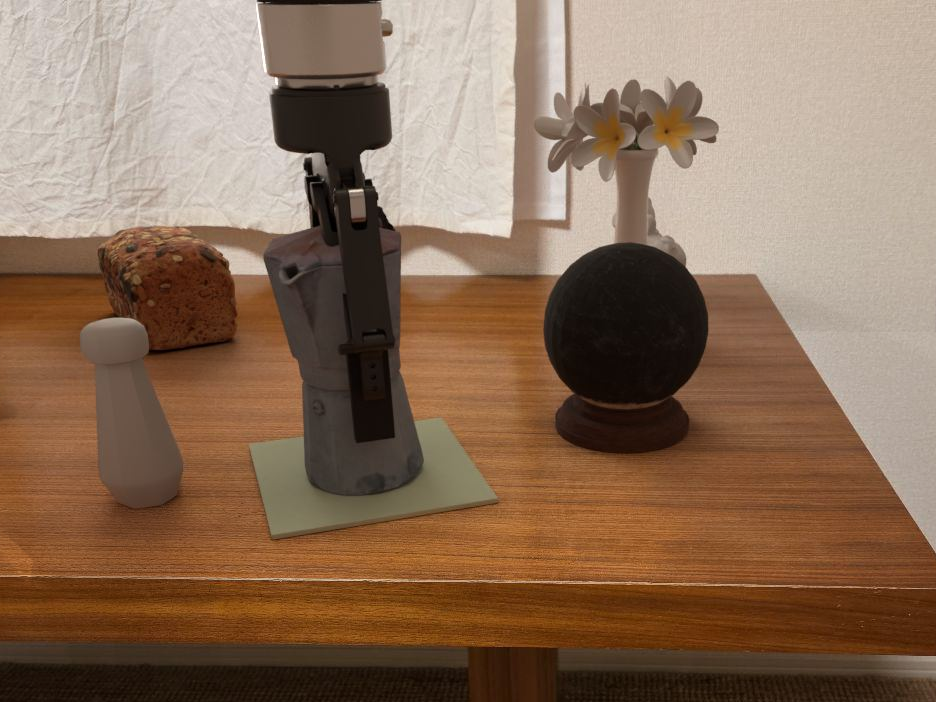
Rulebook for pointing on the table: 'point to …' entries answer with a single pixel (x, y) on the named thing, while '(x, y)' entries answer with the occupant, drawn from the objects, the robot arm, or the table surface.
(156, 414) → the salt shaker
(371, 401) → the robot arm
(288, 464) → the centre mat
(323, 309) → the moka pot
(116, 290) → the bread
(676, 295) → the black ball on stand
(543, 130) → the flower vase
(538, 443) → the table surface
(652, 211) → the dog figurine
